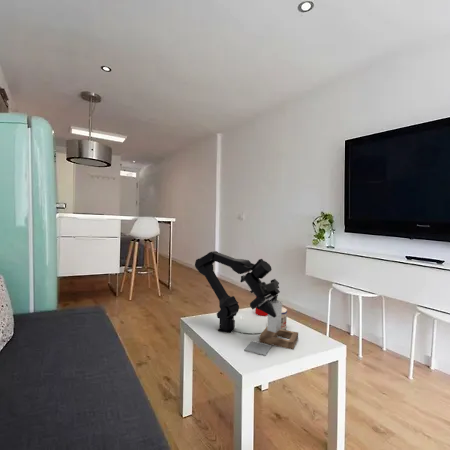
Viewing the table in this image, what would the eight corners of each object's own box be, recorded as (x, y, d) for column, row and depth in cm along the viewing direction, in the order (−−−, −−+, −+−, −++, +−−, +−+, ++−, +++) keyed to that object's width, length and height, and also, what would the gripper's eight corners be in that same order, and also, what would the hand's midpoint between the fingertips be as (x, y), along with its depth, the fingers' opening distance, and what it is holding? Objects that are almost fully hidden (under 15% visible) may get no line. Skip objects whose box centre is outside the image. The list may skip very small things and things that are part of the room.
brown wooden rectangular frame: (259, 342, 125) (259, 335, 125) (266, 332, 135) (267, 326, 135) (293, 349, 119) (293, 342, 119) (298, 339, 129) (298, 332, 128)
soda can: (252, 313, 160) (253, 292, 159) (260, 310, 165) (261, 289, 165) (263, 317, 155) (264, 295, 154) (271, 313, 160) (272, 292, 160)
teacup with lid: (281, 332, 135) (282, 308, 134) (264, 327, 140) (265, 304, 140) (292, 325, 144) (293, 302, 144) (276, 320, 150) (276, 298, 149)
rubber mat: (243, 350, 117) (244, 349, 117) (251, 341, 125) (251, 340, 125) (265, 356, 113) (265, 354, 113) (271, 346, 121) (271, 345, 121)
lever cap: (267, 330, 121) (268, 302, 120) (272, 326, 125) (273, 299, 124) (276, 332, 119) (277, 304, 118) (280, 328, 123) (282, 301, 122)
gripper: (257, 277, 115) (282, 311, 109) (276, 270, 130) (299, 299, 125) (240, 293, 120) (262, 325, 114) (260, 284, 135) (281, 312, 130)
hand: (277, 315), depth 121 cm, fingers closed on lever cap, 5 cm apart
